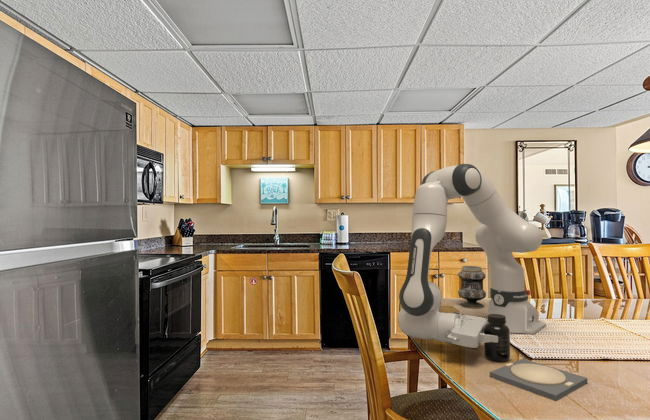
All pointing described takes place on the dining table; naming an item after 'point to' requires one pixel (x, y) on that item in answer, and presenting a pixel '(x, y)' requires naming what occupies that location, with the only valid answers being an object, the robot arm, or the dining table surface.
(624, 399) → the dining table surface
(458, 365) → the dining table surface
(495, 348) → the supplement bottle
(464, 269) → the apothecary jar
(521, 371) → the slate board
